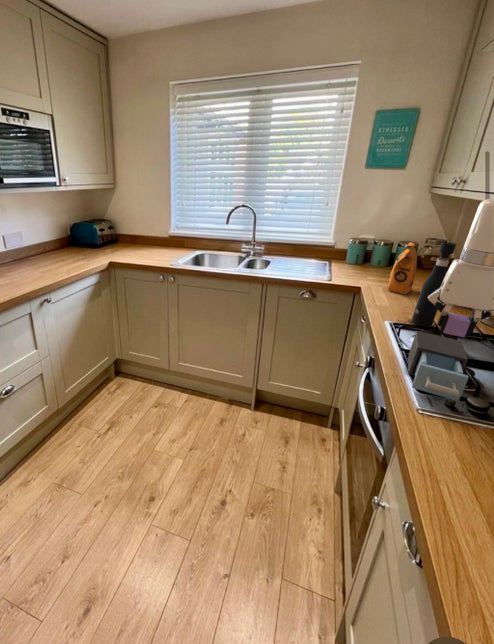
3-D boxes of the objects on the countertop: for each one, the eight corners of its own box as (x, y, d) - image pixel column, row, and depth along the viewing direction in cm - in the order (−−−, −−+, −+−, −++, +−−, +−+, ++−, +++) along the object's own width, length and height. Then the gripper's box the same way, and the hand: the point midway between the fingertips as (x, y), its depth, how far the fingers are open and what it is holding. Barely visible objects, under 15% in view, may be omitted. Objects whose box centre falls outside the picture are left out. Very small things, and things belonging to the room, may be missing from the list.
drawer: (461, 413, 75) (472, 388, 73) (412, 398, 80) (421, 374, 77) (453, 380, 87) (462, 358, 85) (411, 368, 92) (419, 347, 89)
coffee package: (383, 290, 155) (396, 244, 147) (388, 284, 164) (401, 240, 155) (408, 295, 149) (423, 247, 141) (412, 289, 158) (426, 243, 150)
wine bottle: (434, 325, 121) (464, 244, 109) (427, 329, 118) (456, 246, 106) (415, 318, 126) (442, 240, 114) (407, 322, 122) (434, 242, 111)
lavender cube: (464, 337, 77) (470, 322, 75) (443, 332, 79) (449, 317, 77) (462, 331, 80) (468, 316, 79) (442, 326, 82) (447, 312, 81)
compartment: (456, 387, 86) (468, 359, 82) (408, 374, 91) (417, 347, 87) (451, 367, 95) (461, 341, 91) (407, 356, 100) (416, 330, 96)
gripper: (528, 260, 71) (494, 335, 78) (434, 249, 79) (411, 317, 87) (539, 268, 65) (501, 348, 73) (437, 254, 74) (412, 328, 81)
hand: (453, 331), depth 79 cm, fingers closed on lavender cube, 4 cm apart
